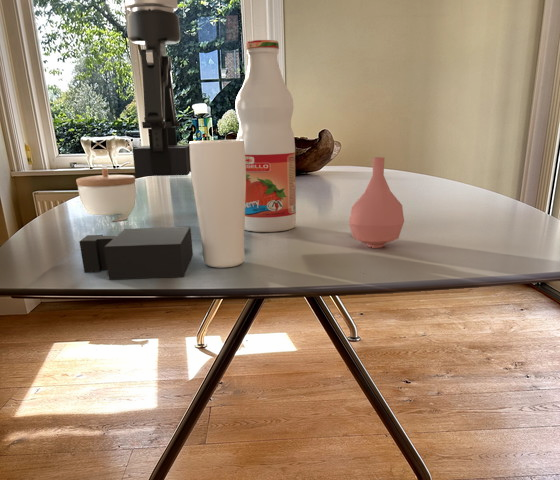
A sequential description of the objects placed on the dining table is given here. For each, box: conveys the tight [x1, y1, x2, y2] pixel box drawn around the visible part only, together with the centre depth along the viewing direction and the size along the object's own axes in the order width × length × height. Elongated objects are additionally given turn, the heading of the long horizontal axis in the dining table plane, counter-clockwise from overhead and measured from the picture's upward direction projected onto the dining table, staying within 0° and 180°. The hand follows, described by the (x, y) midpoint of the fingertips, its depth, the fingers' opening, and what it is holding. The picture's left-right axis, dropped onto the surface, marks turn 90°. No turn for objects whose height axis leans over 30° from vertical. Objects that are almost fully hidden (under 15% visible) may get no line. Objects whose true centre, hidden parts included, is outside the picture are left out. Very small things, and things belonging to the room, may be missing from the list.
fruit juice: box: [235, 39, 297, 233], centre depth 96 cm, size 9×9×28 cm
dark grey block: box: [132, 144, 191, 177], centre depth 96 cm, size 8×10×4 cm
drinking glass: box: [188, 139, 246, 269], centre depth 75 cm, size 7×7×15 cm
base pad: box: [78, 226, 194, 281], centre depth 77 cm, size 13×12×4 cm
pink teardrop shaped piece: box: [348, 156, 405, 249], centre depth 83 cm, size 8×8×12 cm
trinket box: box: [75, 167, 137, 223], centre depth 113 cm, size 11×11×9 cm
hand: (166, 171), depth 96 cm, fingers closed on dark grey block, 10 cm apart
